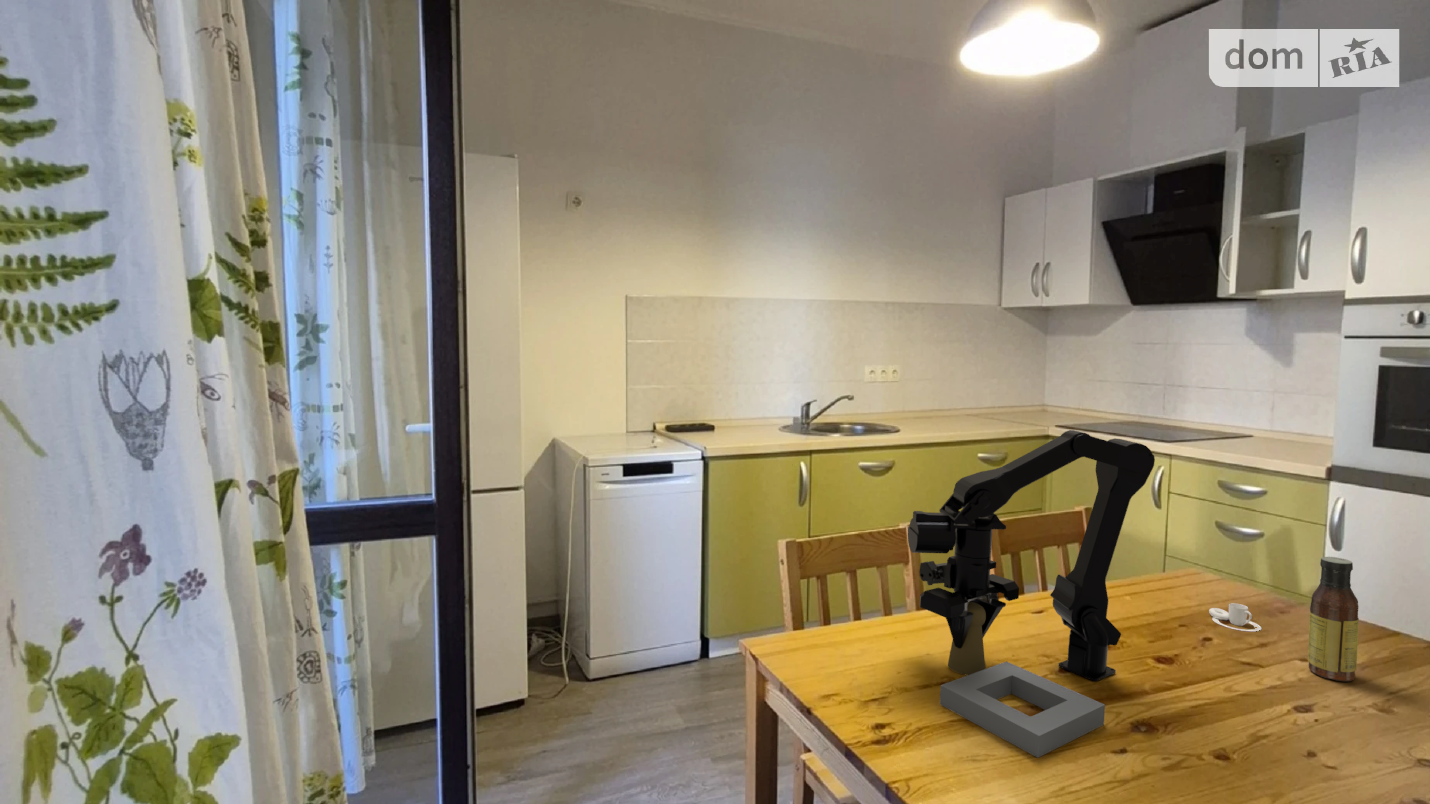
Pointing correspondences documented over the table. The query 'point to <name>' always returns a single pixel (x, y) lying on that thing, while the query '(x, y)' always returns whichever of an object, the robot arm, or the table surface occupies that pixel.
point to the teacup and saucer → (1234, 616)
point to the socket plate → (1033, 734)
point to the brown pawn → (970, 645)
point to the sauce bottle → (1334, 623)
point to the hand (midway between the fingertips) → (967, 644)
